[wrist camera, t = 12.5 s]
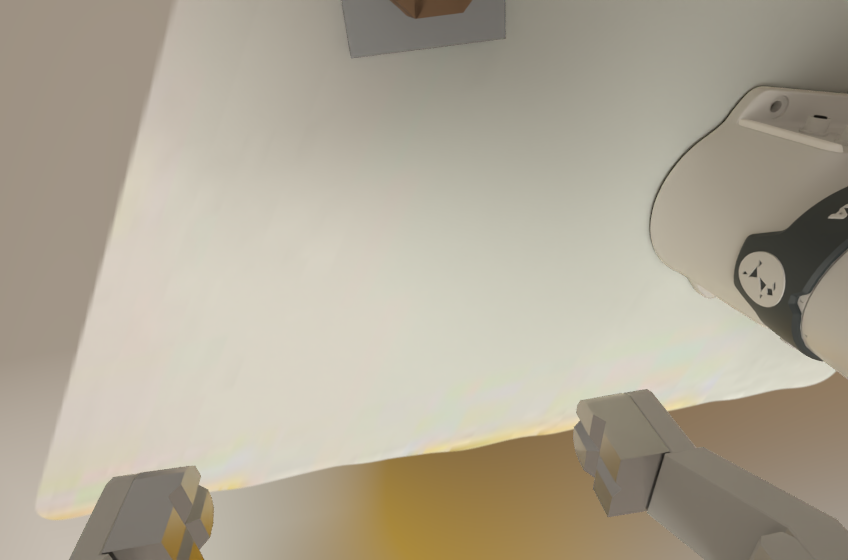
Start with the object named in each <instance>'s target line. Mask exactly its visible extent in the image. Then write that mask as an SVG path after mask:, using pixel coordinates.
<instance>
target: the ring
mask: <svg viewBox="0 0 848 560" xmlns="http://www.w3.org/2000/svg"><path fill="white" fill-rule="evenodd" d="M390 1H391V2H392V3H393V4H394V5H396V6H397V7H398V8H399V9H400V10H401V11H402V12H403V13H404V14H405V15H406V16H409V17H412V18H415V19H419V18H427V17H434V16H442V15H450V14H458V13H464V11H465V10H466V8H467V7H468V6H469V4H470V3H471V1H472V0H390Z"/></svg>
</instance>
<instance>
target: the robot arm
mask: <svg viewBox="0 0 848 560" xmlns="http://www.w3.org/2000/svg"><path fill="white" fill-rule="evenodd" d="M773 103H774V105H773V107H772V108H771V105H772V104H773ZM770 108H771V109H770ZM650 233H651V240H652V244H653V247H654V250H655V252H656V254H657V255H658V257H659V258H660V260H661V261H662V262H663V263H664V264H665V265H667V266H668V267H669V268H671V269H673V270H675V271H677V272H679V273H680V274H682V275H684V276H686V277H687V278H688V279H689V281H690V283H691V285H692V286H693V288H694V289H695V290H696V292H698V293H699V294H701V295H702V296H704V297H706V298H715V297H717V298H719V299H720V300H722V301H723V302H725V303H726V304H728V305H729V306H731V307H733V308H734V309H736V310H737V311H739V312H740V313H742V314H744V315H745V316H747V317H748V318H750V319H752V320H753V321H755V322H756V323H758V324H760V325H761V326H763V327H766V328H770V329H771V330H772V331H773V332H775V333H776V334H777V335H779V336H780V339H781V340H782V341H784V342H785V343H787V344H788V345H789V346H791V347H793V348H795V349H797V350H799V351H800V352H802V353H803V354H805V355H806V356H808V357H810V358H812V359H815V360H819V361H824V362H826V363H827V364H828V365H830V366H831V367H832V368H833V369H835V370H836V371H837V372H839V373H840V374H841V375H843V376H844V377H845V378H847V379H848V94H847V93H835V92H824V91H812V90H801V89H790V88H778V87H767V86H760V87H757V88H754V89H753V90H751V91H750V92H749V93H747V94H746V95H745V96H744V98H743V99H742V100H741V101H740V102H739V103H738V105H737V106H736V107H735V108H734V110H733V111H732V112H731V114H730V115H729V116H728V118H727V119H726V120H725V122H724V123H723V124H721V125H720V126H719V127H718V128H717V129H716V130H714V131H713V132H712V133H710V134H709V135H708V136H706V137H705V138H704V139H702V140H701V141H700V142H698V143H697V144H696V145H695V146H694V147H693V148H691V149H690V150H689V151H688V152H687V153H686V154H685V155H684V156H683V157H682V159H681V160H680V161H679V162H678V163H677V164H676V166H675V167H674V168H673V169H672V171H671V172H670V174H669V175H668V177H667V178H666V180H665V182H664V183H663V185H662V187H661V189H660V191H659V193H658V196H657V198H656V201H655V204H654V207H653V211H652V216H651V224H650ZM576 413H577V415H578V417H579V419H580V421H579V422H578V424H577V425H576V426H575V427H574V436H573V439H574V446H575V451H576V454H577V457H578V459H579V462H580V464H581V466H582V468H583V470H584V471H586V472H587V473H589V474H590V475H592V476H593V477H595V480H594V486H593V489H594V491H595V493H596V495H597V497H598V499H599V501H600V503H601V505H602V507H603V509H604V510H605V512H606V514H607V516H608V517H611V516H618V515H624V514H630V513H636V512H643V511H648V512H647V513H648V514H649V515H650V516H651V517H653V518H654V519H655V520H656V521H658V522H659V523H660V524H661V525H662V526H664V527H665V528H666V529H667V530H669V531H670V532H671V533H673V535H675V536H676V537H678V539H680V540H681V541H682V542H683V543H685V544H686V545H687V546H689V547H690V548H691V549H692V550H693V551H695V552H696V553H697V554H698V555H700V556H701V557H702V558H703V559H704V560H848V531H847V530H846V529H845V528H844V527H843V525H842V524H841V523H840V522H839V521H838V520H836V519H835V518H833V517H832V516H829V515H828V514H826V513H824V512H822V511H820V510H819V509H817V508H815V507H813V506H811V505H809V504H807V503H806V502H804V501H802V500H800V499H798V498H796V497H795V496H793V495H791V494H789V493H787V492H785V491H784V490H782V489H780V488H778V487H776V486H774V485H772V484H771V483H769V482H767V481H765V480H763V479H761V478H760V477H758V476H755V475H753V474H752V473H750V472H748V471H747V470H745V469H743V468H741V467H739V466H737V465H736V464H734V463H732V462H730V461H728V460H726V459H724V458H722V457H721V456H719V455H717V454H715V453H713V452H712V451H710V450H708V449H706V448H704V447H700V448H696V447H695V446H694V444H693V443H692V442H691V441H690V439H689V438H688V437H687V436H686V434H685V433H684V432H683V431H682V429H681V428H680V427H679V426H678V424H677V423H676V422H675V421H674V419H673V418H672V417H671V416H670V414H669V413H668V412H667V411H666V409H665V408H664V407H663V406H662V404H661V403H660V402H659V401H658V399H657V398H656V397H655V396H654V394H653V393H652V392H651V391H649V390H647V389H645V390H639V391H633V392H627V393H619V394H613V395H608V396H602V397H597V398H591V399H585V400H580V402H579V403H578V405H577V411H576ZM200 478H201V475H200V473H199V471H198V470H197V468H196V466H186V467H179V468H172V469H164V470H157V471H150V472H143V473H137V474H131V475H124V476H117V477H113V478H112V479H111V480H110V481H109V482H108V483H107V484H106V486H105V488H104V490H103V492H102V494H101V496H100V498H99V500H98V502H97V504H96V506H95V508H94V510H93V512H92V514H91V516H90V518H89V520H88V522H87V524H86V526H85V528H84V530H83V532H82V534H81V536H80V538H79V540H78V542H77V544H76V547H75V549H74V551H73V553H72V555H71V557H70V559H69V560H204V558H203V556H202V554H201V552H200V548H201V547H202V546H203V545H204V544H205V543H206V541H207V540H208V539H209V538H210V535H211V530H212V527H213V516H214V514H213V513H214V507H213V502H212V497H211V495H210V493H209V491H208V489H206V488H204V487H202V486H200V485H199V481H200Z"/></svg>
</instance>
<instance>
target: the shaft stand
mask: <svg viewBox="0 0 848 560" xmlns="http://www.w3.org/2000/svg"><path fill="white" fill-rule="evenodd" d="M342 6H343V12H344V18H345V24H346V30H347V36H348V43H349V49H350V55H351V58H357V57H365V56H373V55H381V54H388V53H396V52H404V51H412V50H420V49H427V48H435V47H443V46H451V45H459V44H467V43H474V42H482V41H490V40H498V39H506V30H505V0H472V1H471V3H470V4H469V6H468V7H467V8H466V10H465V11H464V13H458V14H450V15H442V16H434V17H427V18H419V19H415V18H412V17H409V16H406V15H405V14H404V13H403V12H402V11H401V10H400V9H399V8H398V7H397V6H396V5H394V4H393V3H392V2H391V1H390V0H342Z"/></svg>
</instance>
